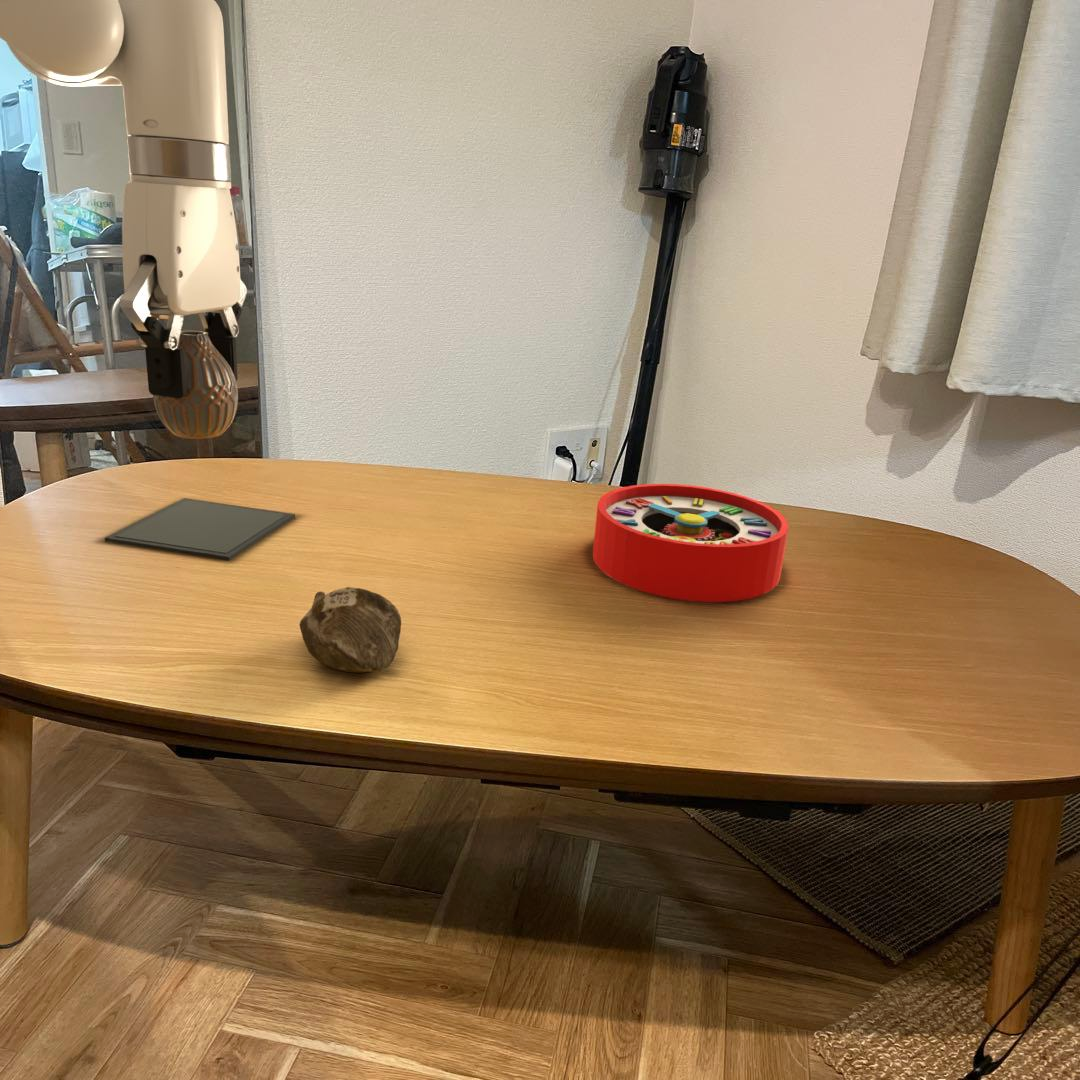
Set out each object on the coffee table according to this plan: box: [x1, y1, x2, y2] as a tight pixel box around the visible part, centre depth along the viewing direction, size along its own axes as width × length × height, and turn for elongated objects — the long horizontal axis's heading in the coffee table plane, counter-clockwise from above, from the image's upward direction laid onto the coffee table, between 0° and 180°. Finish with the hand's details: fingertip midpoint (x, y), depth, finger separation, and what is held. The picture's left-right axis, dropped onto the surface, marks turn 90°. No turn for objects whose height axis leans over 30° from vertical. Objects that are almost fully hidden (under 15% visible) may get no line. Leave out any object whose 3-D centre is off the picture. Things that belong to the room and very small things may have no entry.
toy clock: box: [592, 483, 790, 603], centre depth 96 cm, size 20×6×20 cm
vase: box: [152, 330, 239, 440], centre depth 78 cm, size 7×7×9 cm
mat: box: [104, 497, 296, 561], centre depth 97 cm, size 14×14×1 cm
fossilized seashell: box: [299, 586, 402, 674], centre depth 72 cm, size 8×7×10 cm
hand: (195, 386), depth 78 cm, fingers closed on vase, 6 cm apart
